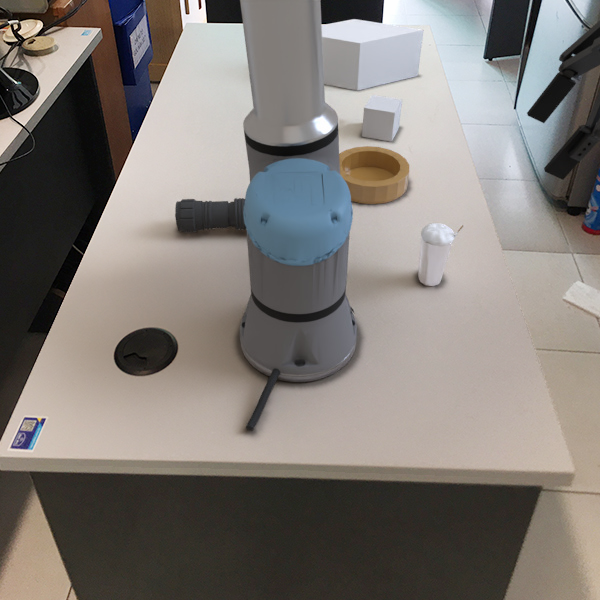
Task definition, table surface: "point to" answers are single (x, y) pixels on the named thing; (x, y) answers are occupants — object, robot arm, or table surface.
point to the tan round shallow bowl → (374, 174)
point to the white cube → (381, 118)
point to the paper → (369, 53)
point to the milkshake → (434, 252)
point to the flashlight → (209, 215)
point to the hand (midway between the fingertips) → (543, 144)
